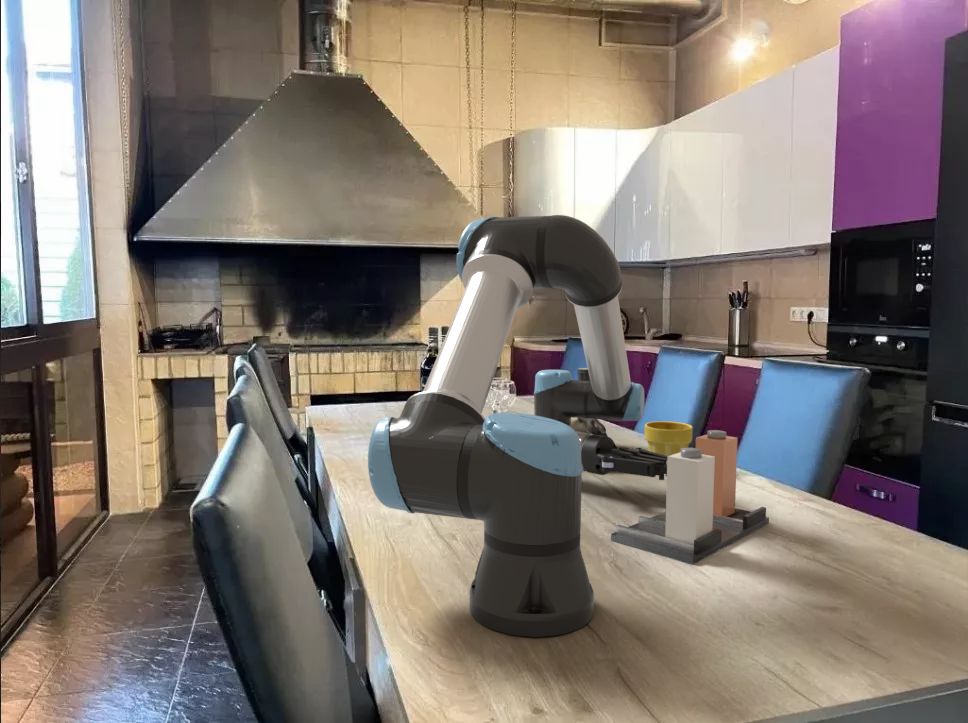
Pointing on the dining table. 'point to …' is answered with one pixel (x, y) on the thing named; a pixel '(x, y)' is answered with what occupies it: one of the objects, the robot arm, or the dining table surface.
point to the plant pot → (668, 436)
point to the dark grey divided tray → (724, 533)
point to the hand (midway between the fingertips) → (701, 474)
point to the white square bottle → (689, 495)
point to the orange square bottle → (721, 468)
